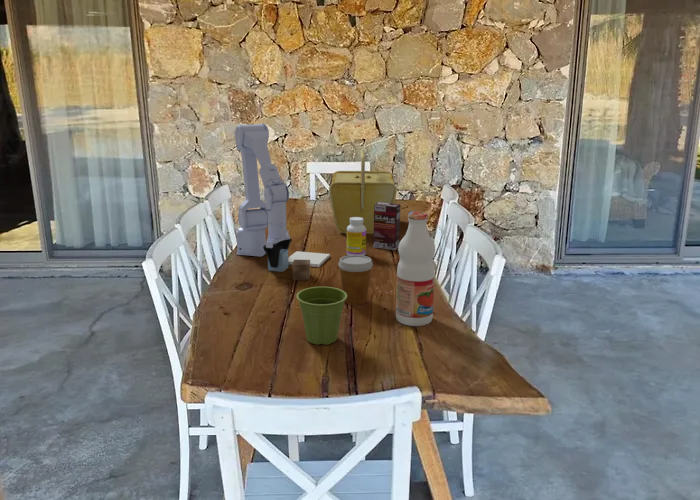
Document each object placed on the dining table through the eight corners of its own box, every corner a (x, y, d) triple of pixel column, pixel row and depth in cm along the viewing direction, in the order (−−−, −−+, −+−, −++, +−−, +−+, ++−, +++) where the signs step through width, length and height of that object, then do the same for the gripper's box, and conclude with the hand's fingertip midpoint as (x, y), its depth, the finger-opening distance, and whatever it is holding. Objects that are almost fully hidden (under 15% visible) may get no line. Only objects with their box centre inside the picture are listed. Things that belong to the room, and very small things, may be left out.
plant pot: (288, 345, 146) (287, 300, 143) (309, 326, 157) (309, 283, 154) (335, 353, 142) (335, 307, 139) (354, 333, 153) (354, 290, 150)
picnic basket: (395, 235, 242) (398, 157, 234) (328, 235, 242) (328, 157, 234) (392, 218, 270) (393, 147, 262) (331, 217, 270) (331, 147, 262)
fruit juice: (401, 310, 167) (405, 208, 160) (436, 316, 164) (441, 211, 156) (390, 323, 159) (393, 215, 151) (427, 329, 156) (432, 219, 148)
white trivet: (284, 264, 206) (283, 261, 206) (296, 254, 217) (296, 251, 217) (318, 267, 203) (318, 264, 203) (329, 256, 214) (329, 254, 214)
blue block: (268, 270, 200) (267, 252, 198) (274, 265, 205) (273, 248, 203) (282, 271, 199) (282, 253, 197) (288, 267, 203) (288, 249, 202)
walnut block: (292, 280, 191) (292, 264, 190) (294, 274, 196) (294, 259, 195) (309, 280, 191) (309, 264, 190) (310, 275, 196) (310, 259, 195)
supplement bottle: (363, 258, 213) (364, 221, 210) (344, 257, 215) (344, 220, 211) (367, 252, 220) (367, 216, 216) (348, 251, 221) (348, 215, 217)
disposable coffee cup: (376, 297, 177) (377, 256, 174) (366, 309, 169) (366, 266, 165) (344, 293, 180) (344, 253, 177) (333, 304, 172) (333, 262, 168)
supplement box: (372, 247, 226) (373, 204, 221) (377, 244, 230) (378, 201, 225) (395, 250, 223) (396, 206, 218) (399, 247, 227) (401, 203, 222)
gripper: (280, 228, 190) (281, 271, 194) (297, 218, 203) (297, 258, 207) (259, 227, 192) (260, 269, 195) (276, 216, 205) (277, 256, 209)
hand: (278, 263), depth 201 cm, fingers open, 7 cm apart
